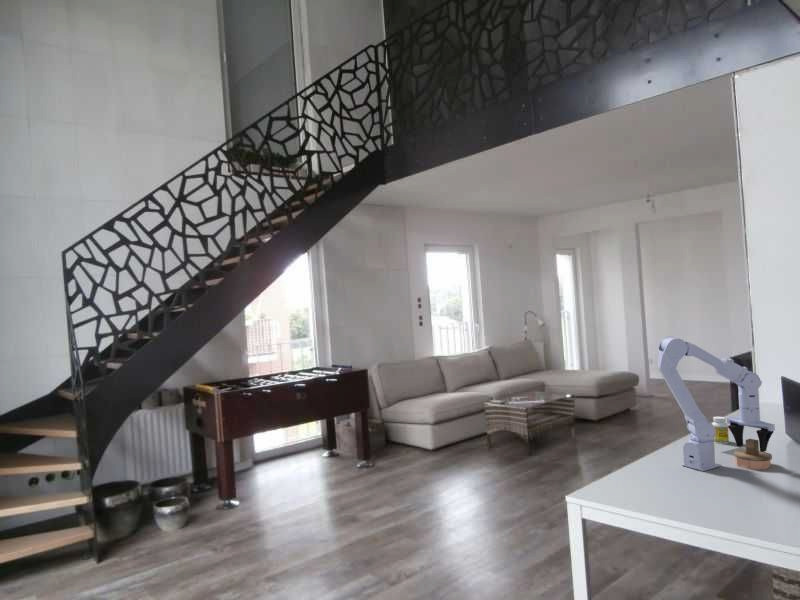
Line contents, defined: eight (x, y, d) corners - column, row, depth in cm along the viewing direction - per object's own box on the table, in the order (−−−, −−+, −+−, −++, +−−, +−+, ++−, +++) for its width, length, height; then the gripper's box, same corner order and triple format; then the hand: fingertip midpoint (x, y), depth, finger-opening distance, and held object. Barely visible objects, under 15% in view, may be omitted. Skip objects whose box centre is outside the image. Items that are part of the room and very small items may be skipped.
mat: (751, 460, 190) (751, 459, 190) (720, 453, 199) (720, 452, 199) (771, 454, 194) (771, 454, 194) (740, 448, 204) (740, 447, 204)
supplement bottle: (722, 440, 216) (720, 415, 216) (732, 443, 210) (730, 418, 210) (709, 441, 215) (708, 416, 215) (719, 445, 210) (717, 419, 210)
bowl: (758, 472, 178) (757, 462, 178) (728, 464, 186) (728, 455, 186) (776, 466, 182) (775, 457, 182) (746, 459, 190) (746, 451, 190)
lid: (759, 463, 177) (758, 446, 177) (726, 455, 187) (726, 439, 187) (779, 457, 182) (778, 440, 182) (746, 450, 191) (745, 434, 191)
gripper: (779, 409, 179) (781, 451, 179) (735, 402, 192) (737, 442, 192) (766, 412, 176) (768, 455, 176) (722, 405, 189) (724, 445, 189)
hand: (751, 448), depth 184 cm, fingers open, 7 cm apart
